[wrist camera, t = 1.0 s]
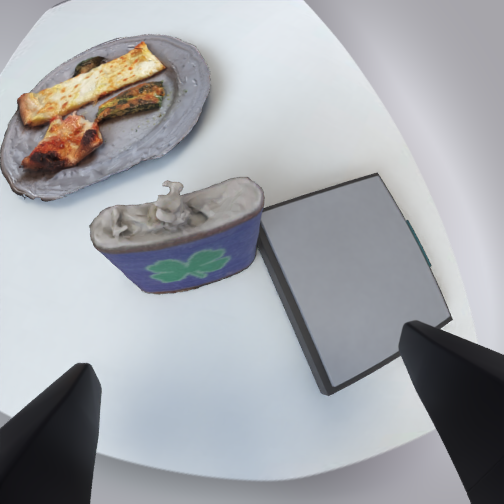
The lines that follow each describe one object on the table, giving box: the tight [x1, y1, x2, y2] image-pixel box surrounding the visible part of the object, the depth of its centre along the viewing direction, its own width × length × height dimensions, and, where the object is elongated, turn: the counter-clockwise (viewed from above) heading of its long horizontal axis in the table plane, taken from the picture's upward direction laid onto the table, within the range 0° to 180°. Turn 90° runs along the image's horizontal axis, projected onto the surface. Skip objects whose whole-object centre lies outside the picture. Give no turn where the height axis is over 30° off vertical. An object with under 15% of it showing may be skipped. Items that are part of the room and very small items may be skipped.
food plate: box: [0, 34, 211, 202], centre depth 26 cm, size 25×23×4 cm
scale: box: [257, 173, 453, 396], centre depth 22 cm, size 14×12×2 cm
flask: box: [90, 177, 265, 294], centre depth 18 cm, size 9×3×11 cm, turn 105°
